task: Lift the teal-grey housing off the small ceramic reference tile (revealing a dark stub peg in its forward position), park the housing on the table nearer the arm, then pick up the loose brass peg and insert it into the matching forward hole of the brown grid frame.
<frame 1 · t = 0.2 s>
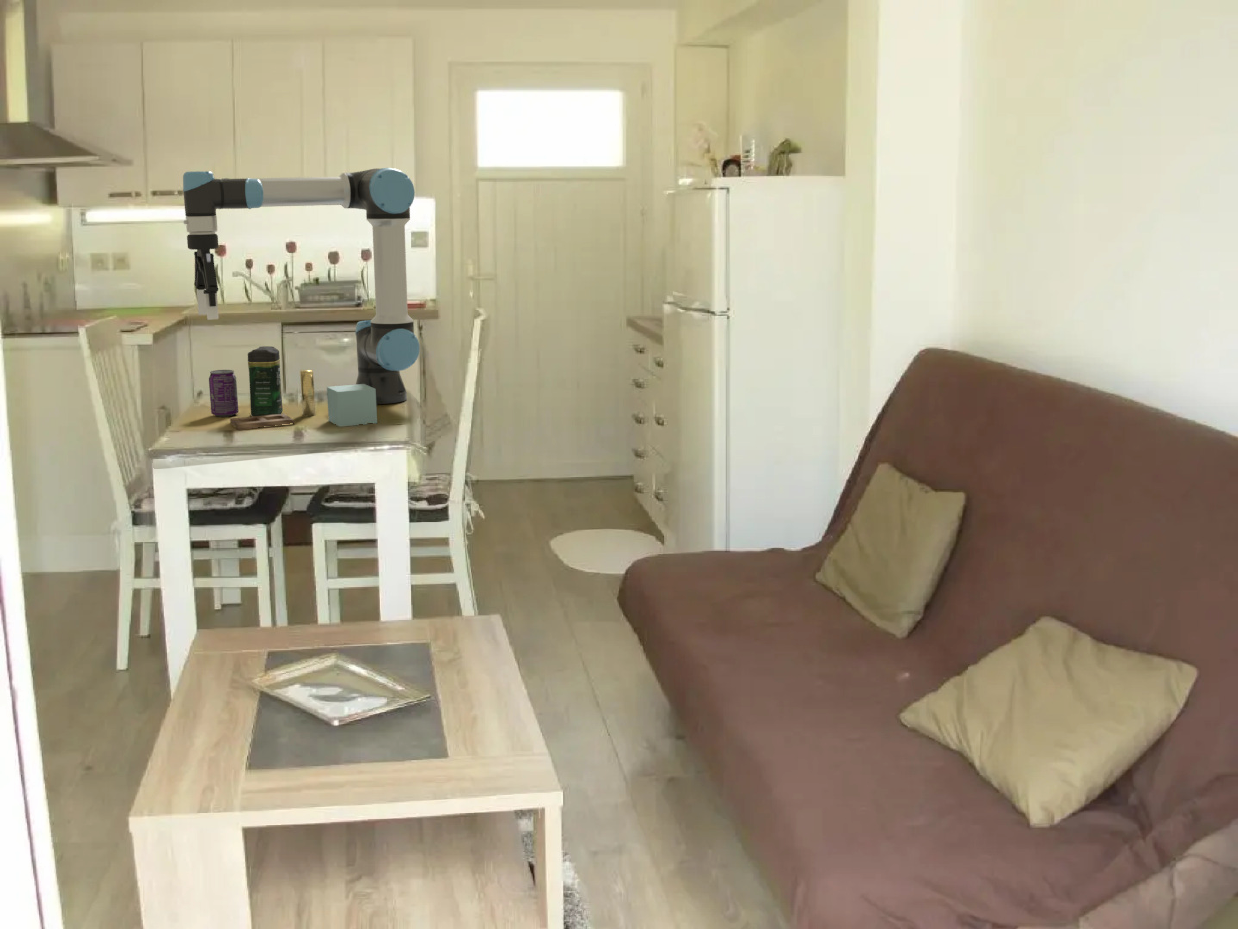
hand: (208, 317, 354), 28 cm above the table, fingers open, 13 cm apart
coffee jar: (267, 416, 371), on the table
brown grid frame: (262, 424, 357), on the table
brass peg: (309, 414, 371), on the table
housing: (352, 421, 359), on the table
beverage can: (225, 416, 372), on the table
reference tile: (352, 421, 359), on the table
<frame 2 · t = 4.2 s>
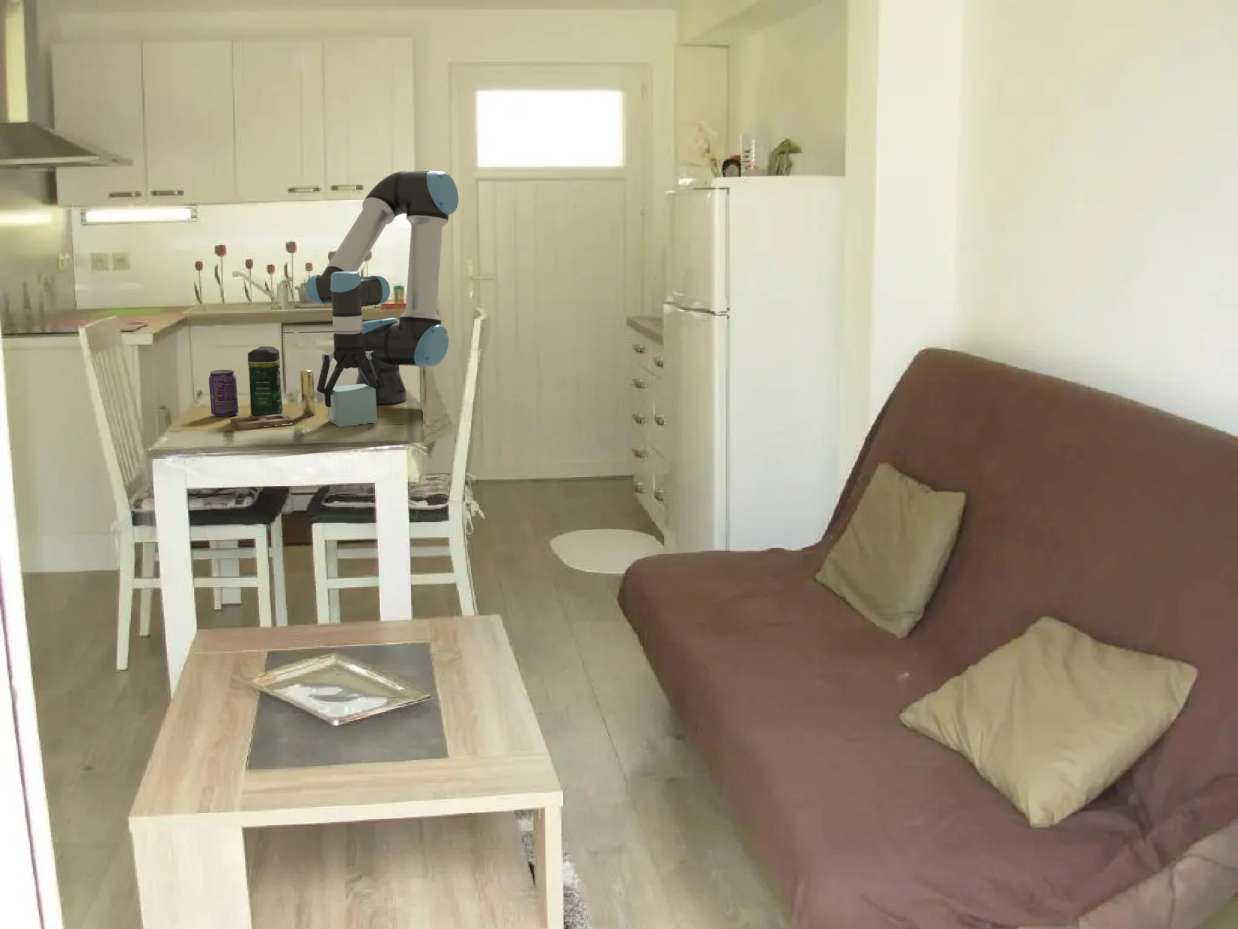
hand: (352, 417, 359), 1 cm above the table, fingers closed on housing, 10 cm apart
housing: (352, 421, 359), on the table, touching gripper
everything else where it was.
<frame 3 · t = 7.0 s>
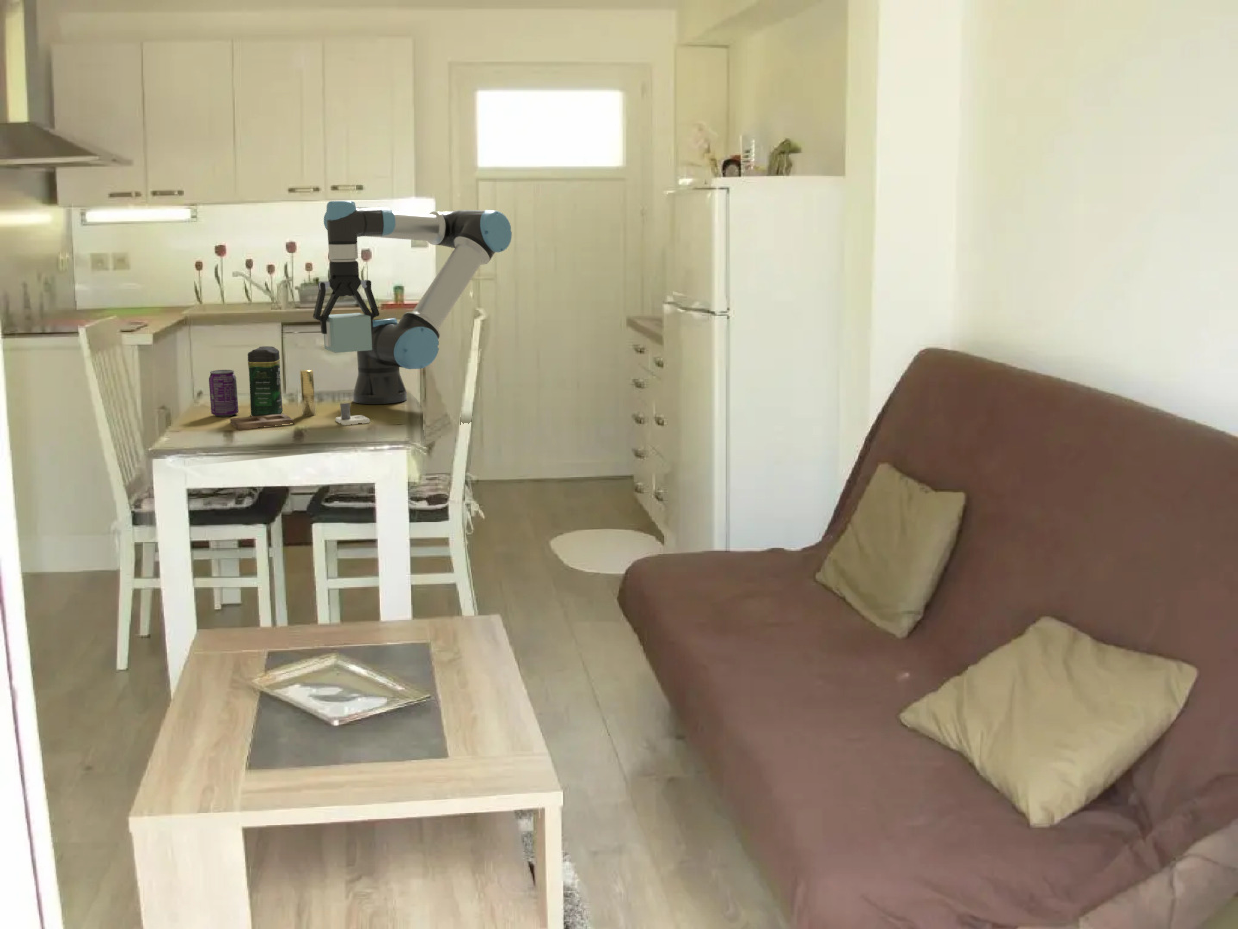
hand: (348, 344, 366), 19 cm above the table, fingers closed on housing, 10 cm apart
housing: (348, 349, 367), point 18 cm above the table, touching gripper
everything else where it was.
when the fingers open (3 cm above the table, at t = 9.9 s): housing drops 1 cm, on the table.
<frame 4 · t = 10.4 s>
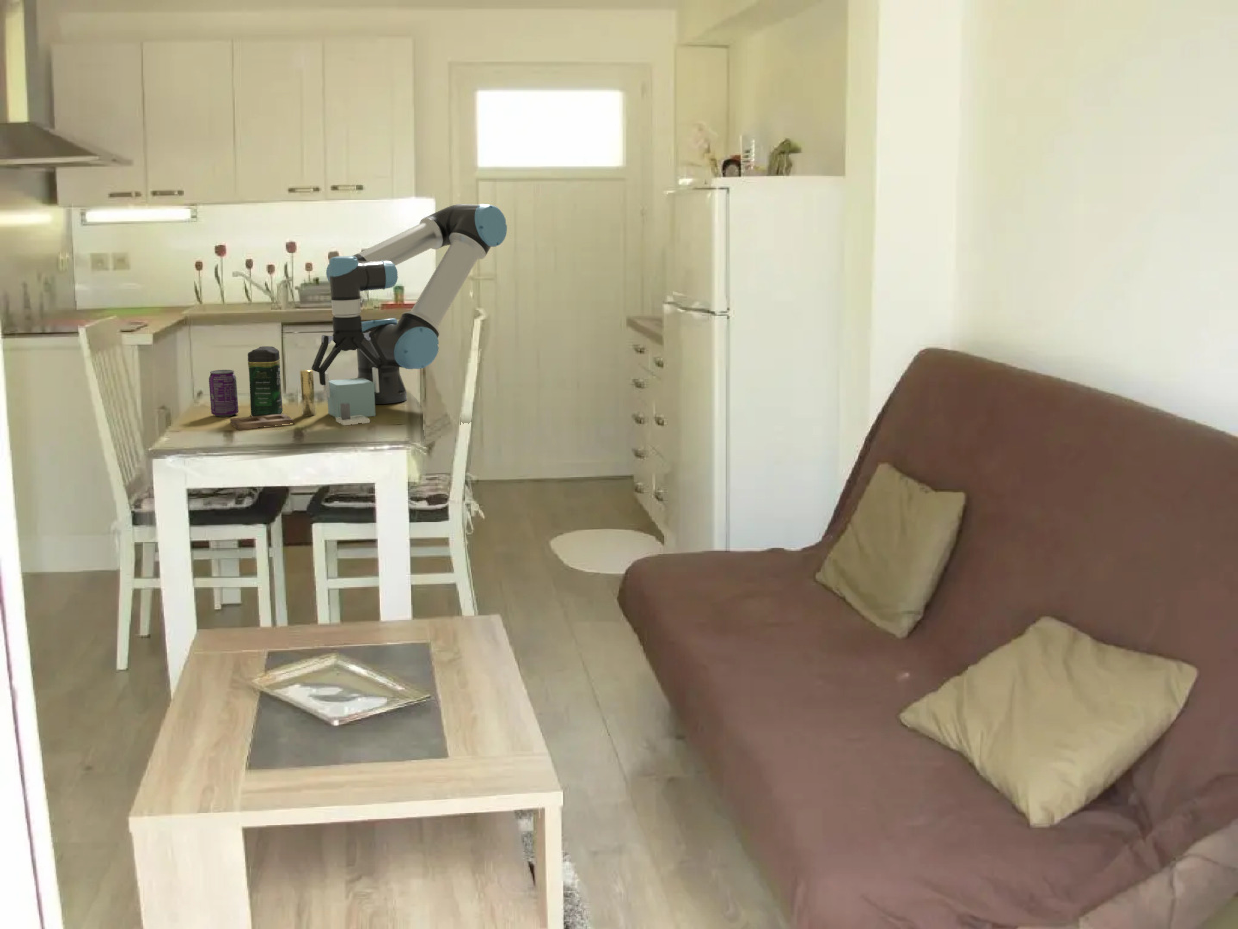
hand: (352, 394, 369), 5 cm above the table, fingers open, 13 cm apart
housing: (351, 414, 370), on the table
everything else where it was.
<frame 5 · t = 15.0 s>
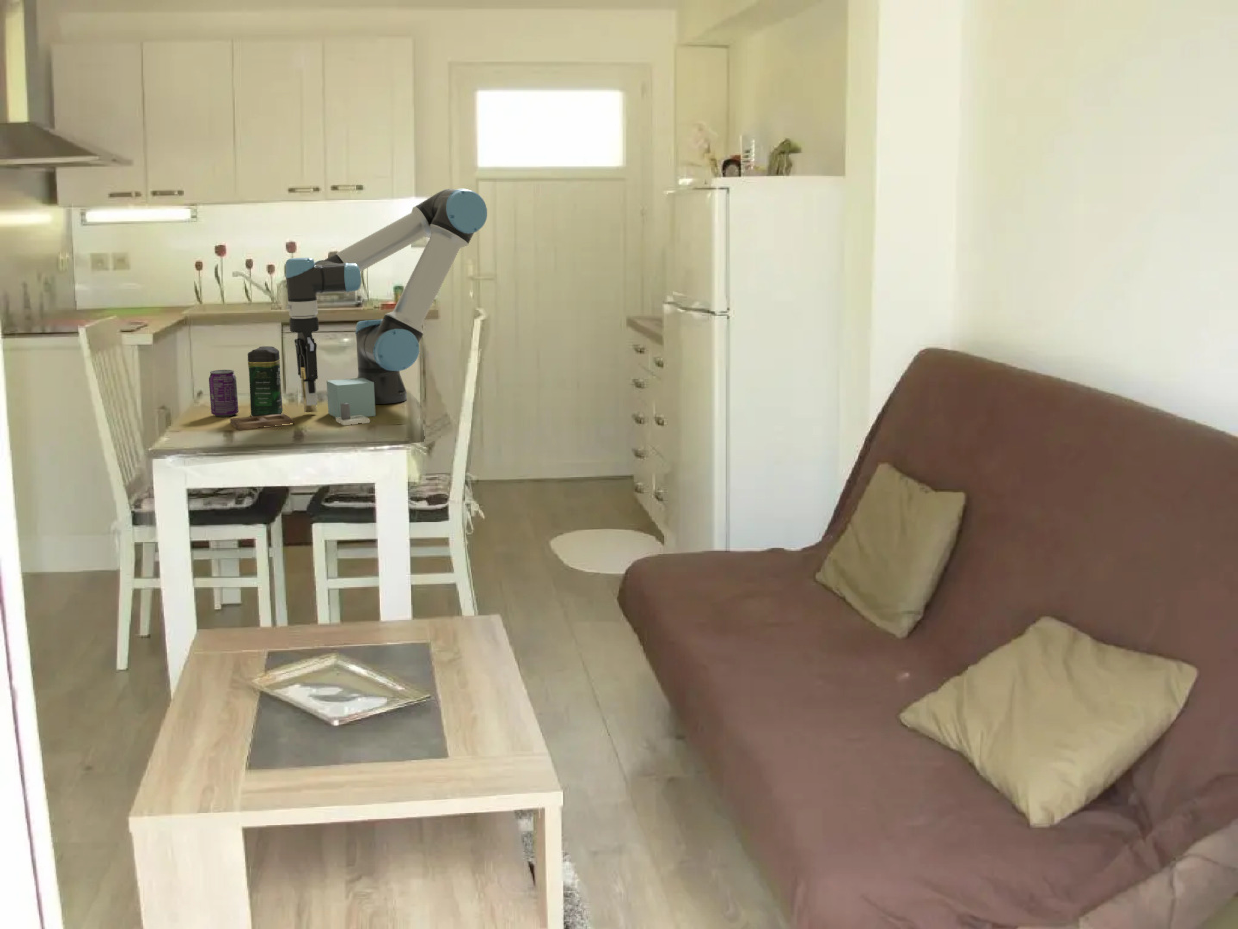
hand: (309, 403, 370), 3 cm above the table, fingers closed on brass peg, 3 cm apart
brass peg: (310, 411, 371), point 1 cm above the table, touching gripper
everything else where it was.
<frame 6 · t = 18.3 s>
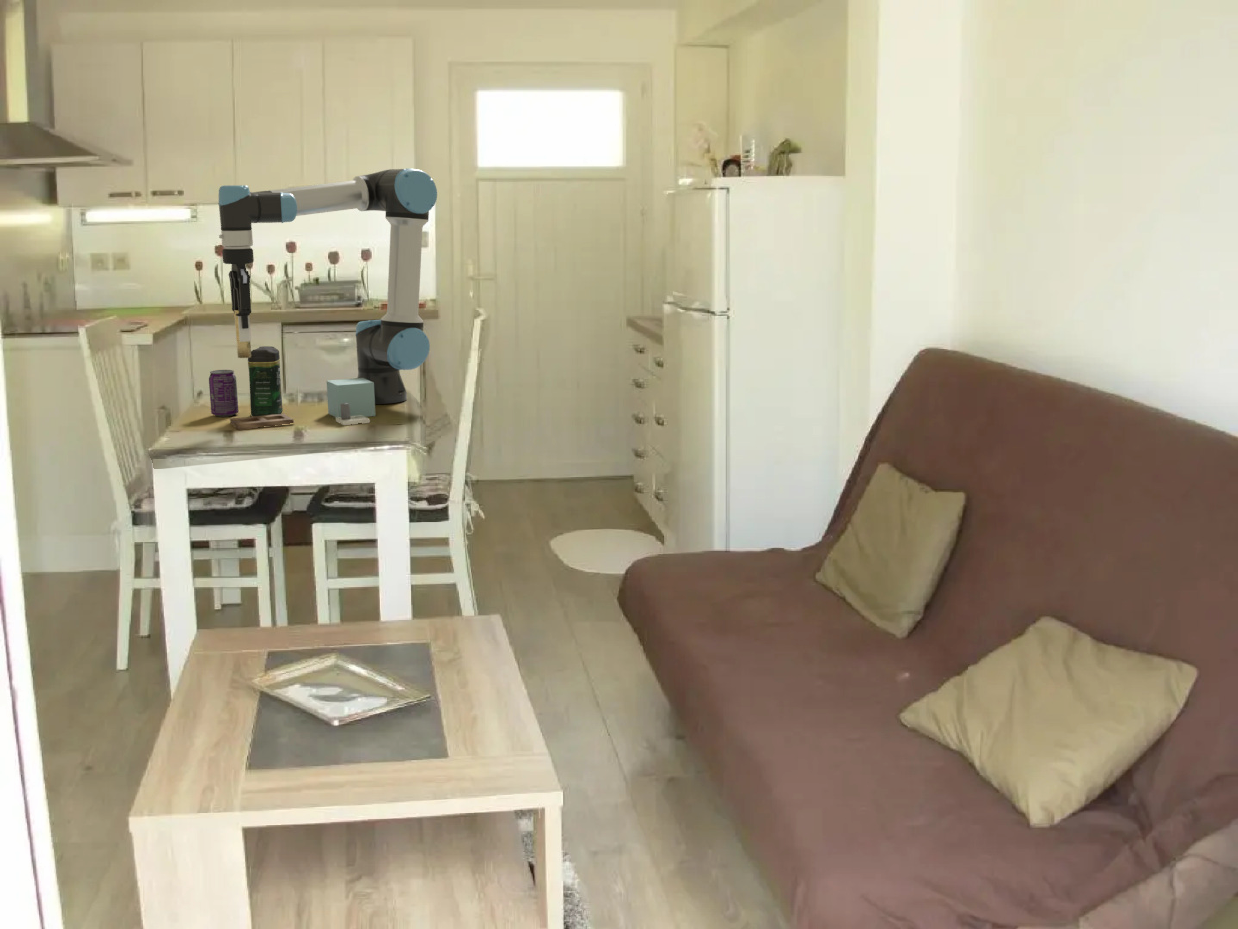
hand: (243, 340, 351), 22 cm above the table, fingers closed on brass peg, 3 cm apart
brass peg: (244, 357, 352), point 18 cm above the table, touching gripper
everything else where it was.
when the fingers open (3 cm above the table, at t = 21.8 s): brass peg stays where it is, resting in brown grid frame.
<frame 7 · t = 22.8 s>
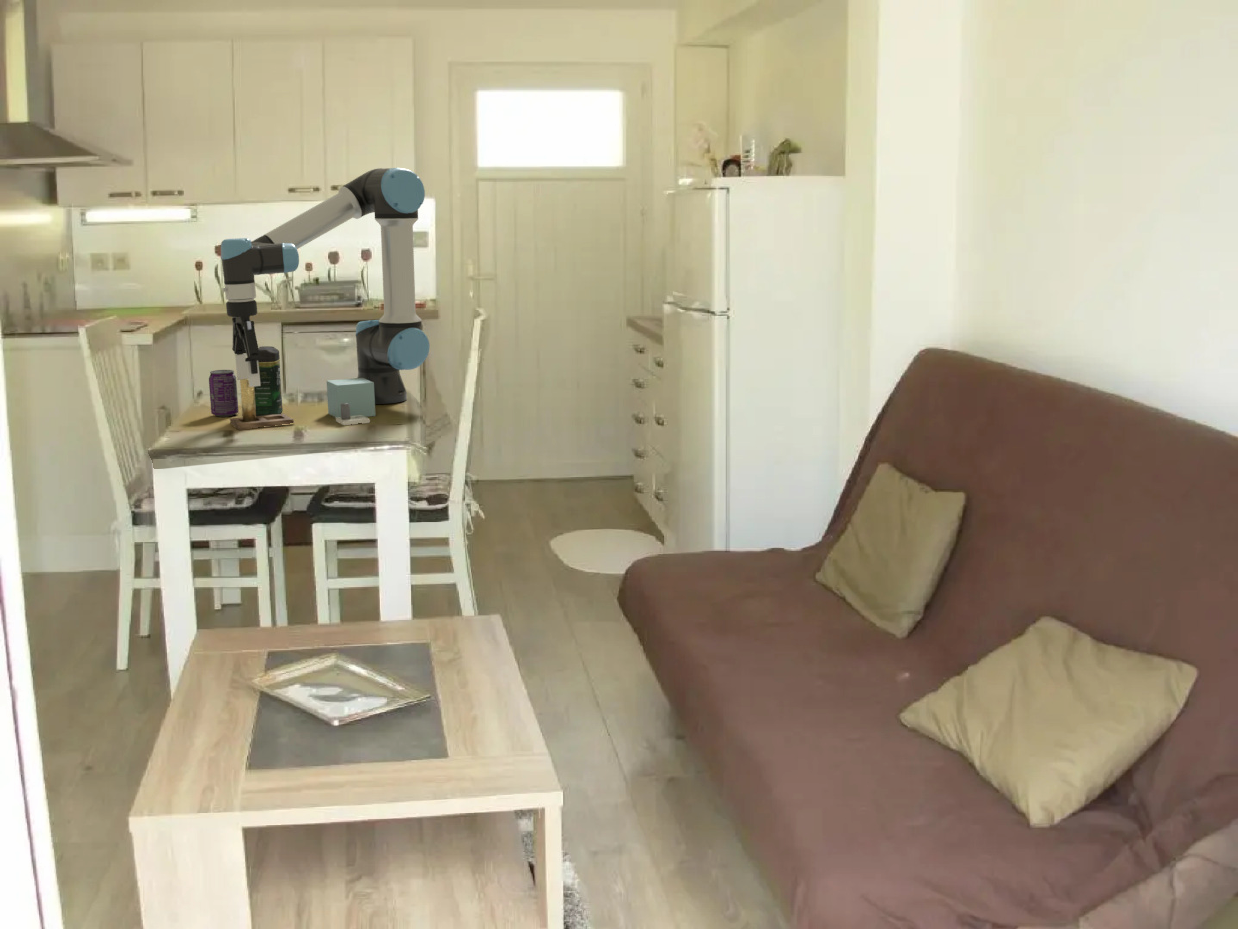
hand: (248, 382, 354), 11 cm above the table, fingers open, 13 cm apart
brass peg: (249, 425, 356), resting in brown grid frame
everything else where it was.
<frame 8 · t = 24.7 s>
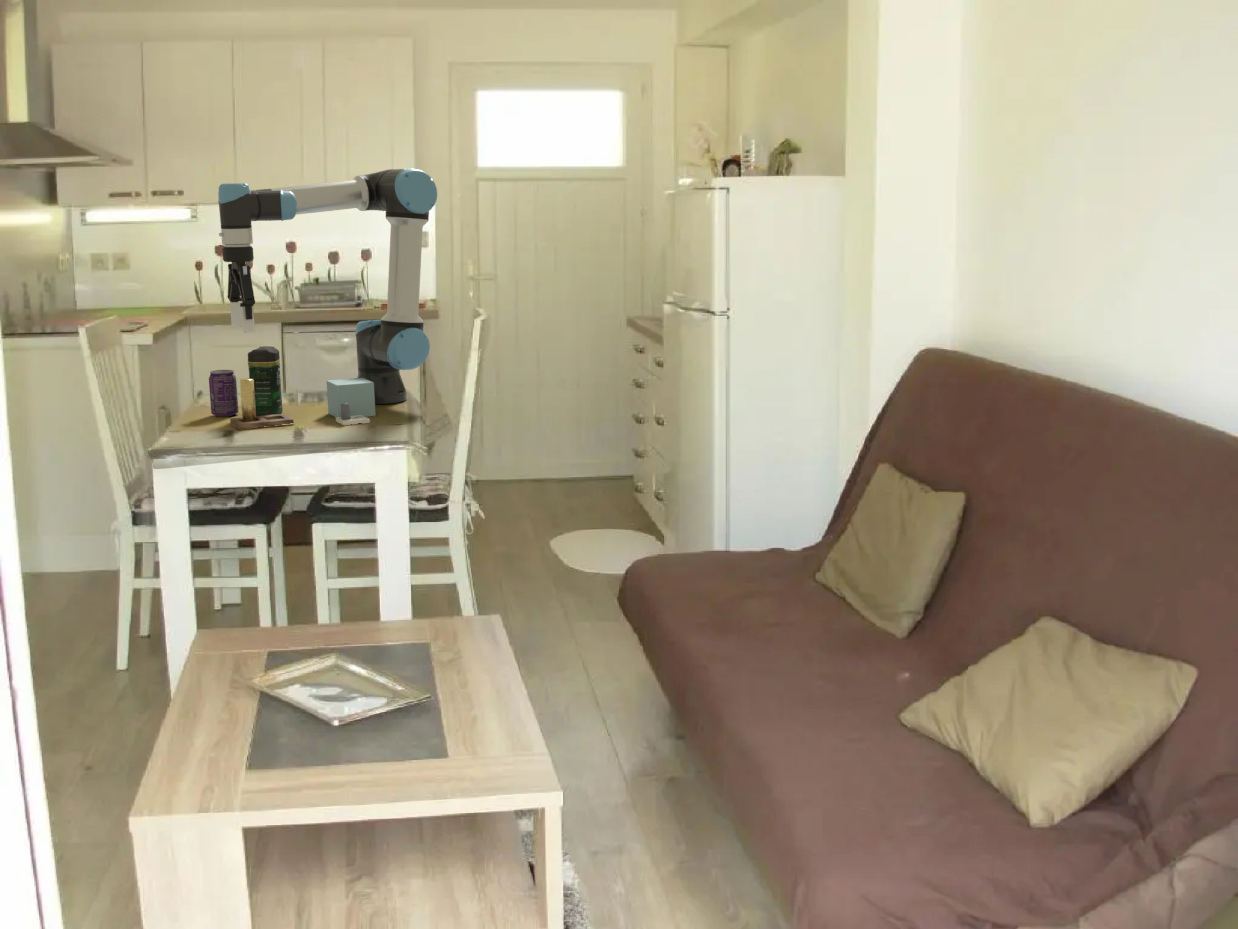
hand: (243, 329, 351), 25 cm above the table, fingers open, 13 cm apart
nothing on the table moved.
at the end: brass peg 0.1 cm from the target spot on the brown grid frame, point 0.0 cm above the brown grid frame's base; brass peg tilted 0°; housing moved 11.4 cm from its start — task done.
